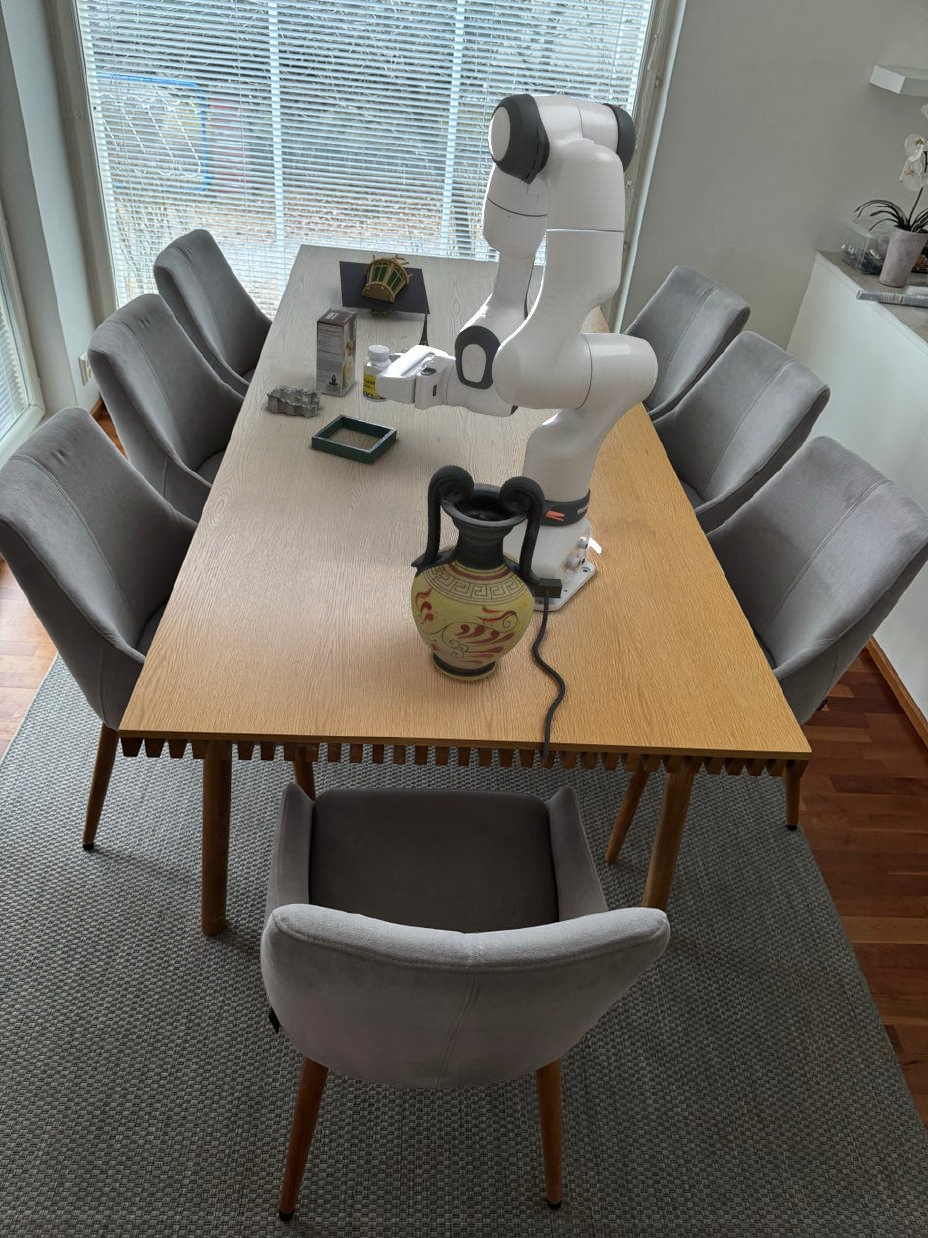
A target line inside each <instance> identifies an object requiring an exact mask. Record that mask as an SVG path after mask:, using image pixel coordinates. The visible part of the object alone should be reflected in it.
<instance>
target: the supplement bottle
mask: <svg viewBox="0 0 928 1238" xmlns="http://www.w3.org/2000/svg"><path fill="white" fill-rule="evenodd" d="M389 353H390V348H389V347H387V346H386V345H385V346H384V345H380V344H373V345H370V346H369V347H368V349H367V356H368V357H366V358H365V360H364V362H363V376H362V398H364V399H365V400H366V401H369V402H372V403H385V402H387V401H389V400H390V399H386V398H383V397H381V396H379V395H378V394H377V393H376V392H375V381H376V378H375V377H373V376H371V375H367V374H365V366H366V365H367V364H369V363H372V364H376V365H377V367H379V368H381V369H382V368H387V367H389V366H390V365H391V364H392V362H391V360H390V359H388V358H389Z"/></svg>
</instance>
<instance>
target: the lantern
mask: <svg viewBox="0 0 928 1238" xmlns="http://www.w3.org/2000/svg"><path fill="white" fill-rule="evenodd" d="M399 260H400V261H403V262H399ZM338 262H339V277H340V278H339V279H340V289H341V290H340V291H341V292H340V293H341V307H342V308H350V309H363V310H369V311H370V312H369V314H370V315H373V313H376V314H384V315H386V314H388V312H397V313H410V314H411V313H412V314H422V315H425V313H426V310H427V313H428V315H431V311H430V306H429V301H428V300H429V299H428V294H427V290H426V283H425V279H424V273H423V268H420V267H419V268H418V267H409V266H407V265H409V264H410V261H407V259H406V258H404V257H402V256H401V257H399V254H398V253H396V254H395V256H392V257H386V256H384V257H383V256H382V257H378V258H376V255H375V254H374V253H373V254H372V260H371V261H370V262H369V263H365V262H364V263H363V262H354V261H345V260H339V261H338Z"/></svg>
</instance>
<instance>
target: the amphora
mask: <svg viewBox="0 0 928 1238" xmlns="http://www.w3.org/2000/svg"><path fill="white" fill-rule="evenodd" d="M426 498H427V500H426V501H427V538H426V540H427V542H426V547H425V551H424V552H423V553H422V554H421V555H419V556H418V557H417V558H415V560H413V561H412V562H411V564H410V567H412V568H415V569H416V572H415V574H414V577H413V579H412V580H413V581H412V584H411V589H410V609H411V614H412V617H413V621H414V624H415V627H416V629H417V632H418V634H419V636H420V638H421V639H422V641H423V643H424V645H426V647H427V648H428V649H429V650H431V652H432V661H433V663H434V665H435V667H436V668H437V669H438V670H439V671H440V672H441V673H443V674H444V675H446V676H448V677H449V678H452V679H456V680H459V681H471V682H472V681H477V680H481V679H482V680H483V679H484V678H487V677H489V676H490V675H491V674H492V673H493V672H494V671H495V669H496V667H497V661H498V660H500V659H501V658H503V657H504V656H506V655H508V654H509V653H510V652H511V651H512V650H513V649H514V648H515V647H516V646H517V645H518V644H519V642H520V641H521V640H522V638H523V637H524V635H525V633H526V631H527V629H528V628H529V626H530V623H531V620H532V617H533V614H534V600H535V590H534V587H535V586H537V585H539V584H541V581H540V579H539V578H538V577H537V575H536V574H535V573H534V572H533V571H532V569H531V566H532V558H533V554H534V549H535V545H536V541H537V537H538V533H539V529H540V525H541V520H542V516H543V511H544V506H545V496H544V493H543V491H542V489H541V487H540V485H539V484H538V483H536V482H535V481H534V480H532V479H530V478H527V477H523V476H522V475H521V476H519V475H518V476H512V477H510V478H508V479H506V480H505V481H504V482H503V484H502V486H499V485H495V484H491V483H485V482H484V483H482V482H475V481H474V478H473V476H472V475H471V474H470V473H469V472H468V471H467V470H466V469H465V468H464V467H462V466H459V465H457V464H456V465H455V464H448V465H444V466H441V467H440V468H438V469H437V470H436V471H435V472H433V474H432V476H431V478H430V480H429V484H428V487H427V497H426ZM442 511H443V512H444V513H445V514H446V515H447V516H448V517H450V518H451V521H452V523H453V526H454V527H455V528H456V529H457V530H458V535H457V540H456V543H455V544H451V545H446V546H444V547H442V548H440V546H441V533H442ZM526 518H528V521H527V526H526V531H525V535H524V539H523V543H522V547H521V552H520V558H519V561H518V560H517V559H516V558H514V557H513V556H511V555H510V554H508V553H507V552H504V551H503V540H504V537H505V536H506V535H508V534H509V533H510V532H511V531H512V529H513V528H514V526H517V525H519V524H521V523H522V522H524V521H525V520H526Z"/></svg>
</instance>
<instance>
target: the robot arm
mask: <svg viewBox="0 0 928 1238" xmlns="http://www.w3.org/2000/svg"><path fill="white" fill-rule="evenodd" d="M487 133H488V135H487V145H488V152H489V155H490V158H491V160H492V161H493V166H492V169H491V172H490V175H489V179H488V183H487V187H486V192H485V196H484V201H483V205H482V206H483V207H482V214H481V216H482V217H481V233H482V236H483V238H484V240H485V241H486V242H487V244H488V245H489V246H490V247H491V248H492V249H493V250H494V251H496V252H498V260H497V267H496V271H495V277H494V282H493V287H492V291H491V294H490V295H489V297H488V298H487V299H486V300H485V301H484V302H483V304H482V305H481V306H480V308H479V309H478V311H477V312H476V314H474V316H473V317H471V318H470V320H469V321H468V322H466V324H465V325H464V327H462V329H461V330H460V331H459V332H458V333H457V336H456V338H455V341H454V356H451V355H450V356H449V355H448V353H447V352H444V351H442V350H439V349H436V348H433V347H430V346H429V347H426V345H425V346H422V345H421V346H418V345H415V346H414V347H412V348H410V349H411V350H410V351H409V352H407V353H406V354H404V353H402V352H401V353H399V352H398V353H390V352H389V358H388V359H390V360H391V362H392V364H391V365H390V366H389V367H387V368H382V369H381V368H379V367H377V365H376V364H372V363H369V364H367V365H366V366H365V374H367V375H371V376H373V377H375V378H376V381H375V392H376V393H377V394H378V395H379V396H381V397H383V398H386V399H389V400H390V401H394V402H397V403H401V404H406V405H413V404H414V406H413V407H414V408H415V409H417V410H421V411H424V410H427V409H429V408H433V407H439V406H443V405H444V406H448V407H453V408H454V407H456V408H457V407H461V408H464V409H466V410H468V411H470V412H472V413H475V414H480V415H485V416H491V417H499V418H506V417H507V418H508V417H511V416H512V415H514V413H516V411H517V410H518V409H519V407H520V408H525V409H529V410H559V411H558V412H557V413H556V414H555V415H554V416H552V417H551V418H549V419H547V420H546V421H545V422H542V423H541V424H539V425H538V426H536V428H534V430H533V431H532V432H531V433H530V436H529V437H528V439H527V442H526V447H525V453H524V459H523V460H524V461H523V464H522V471H521V476H523V477H527V478H530V479H532V480H534V481H535V482H536V483H538V484H539V485H540V487H541V489H542V491H543V493H544V496H545V506H544V511H543V516H542V520H541V525H540V529H539V533H538V537H537V541H536V545H535V549H534V554H533V558H532V566H531V569H532V571H533V572H534V573H535V574H536V575H537V577H538V578H539V579H540V581H541V584H539V585H537V586H535V587H534V590H535V600H534V609H533V611H534V610H536V611H542V612H543V614H542V620H541V625H540V631H539V633H538V636H537V638H536V639H535V641H534V643H533V646H532V647H533V648H532V654H533V657H534V659H535V661H536V662H537V663H538V664H539V665H540V666H541V668H543V669H544V670H545V671H546V672H548V673H549V674H550V675H551V676H553V677H554V679H555V680H556V681H557V683H558V685H559V693H558V695H557V697H556V698H555V700H554V701H553V702H552V704H551V705H550V707H549V709H548V711H547V714H546V718H545V724H544V737H543V738H544V739H543V747H542V754H541V757H542V758H543V759H544V760H545V759H548V758H549V752H550V751H549V750H550V742H551V727H552V726H551V725H552V721H553V715H554V713H555V711H556V709H557V708H558V706H559V705H560V704H561V702H562V701H563V699H564V698H565V694H566V684H565V681H564V679H563V677H562V676H561V675H560V673H558V672H557V671H556V670H555V669H553V668H552V667H551V666H550V665H548V664H547V663H546V662H545V661H544V660H543V659H542V657H541V656H540V653H539V646H540V644H541V643H542V640H543V639H544V636H545V633H546V628H547V624H548V618H549V612H556V611H559V610H560V609H561V608H562V607H563V606H564V605H565V604H566V603H567V602H568V601H569V600H571V598H572V597H573V596H574V595H575V594H577V592H579V590H580V589H581V588H582V587H584V585H585V584H586V583H587V582H588V581H589V580H590V579H591V578H592V577H593V576H594V575H595V573H596V567H595V565H594V564H593V563H592V562H590V561H589V560H588V557H589V551H590V547H592V548H593V549H594V550H595V551H596V552H597V553H598V554H601V551H602V547H601V546H600V545H599V544H598V543H597V542H596V541H595V540H594V539H593V538H592V534H593V526H592V523H591V522H590V521H589V518H588V517H587V513H588V508H589V506H590V501H591V488H590V486H591V485H590V484H591V480H592V476H593V472H594V469H595V465H596V461H597V458H598V455H599V452H600V449H601V447H602V445H603V443H604V441H605V440H606V438H607V436H608V435H609V433H610V432H611V430H612V429H613V428H614V427H615V425H616V424H617V423H618V422H619V421H620V420H621V418H622V417H623V416H624V415H625V414H626V413H628V412H629V411H630V410H631V409H633V408H634V407H635V406H637V405H638V404H641V402H643V401H645V400H646V399H647V398H648V397H649V396H650V394H651V393H652V391H653V390H654V388H655V385H656V382H657V379H658V373H659V364H658V359H657V356H656V355H657V354H656V353H655V351H654V349H653V347H652V345H651V344H650V343H649V342H648V341H647V340H646V339H644V338H640V337H636V336H633V335H628V334H623V333H618V332H593V333H592V332H582V328H583V325H584V323H585V320H587V317H588V315H589V314H591V312H592V311H593V310H594V309H595V308H598V307H599V306H601V305H603V304H605V303H606V302H608V301H609V300H610V299H611V298H613V296H614V295H615V294H616V293H617V291H618V289H619V287H620V284H621V278H622V277H621V276H622V263H623V253H624V252H623V250H624V241H625V240H624V239H625V233H624V232H625V226H626V225H625V224H626V188H625V175H624V174H625V172H626V171H627V170H628V168H629V166H630V164H631V163H632V161H633V158H634V154H635V151H636V143H637V135H636V128H635V124H634V120H633V118H632V116H631V115H630V112H628V111H627V110H625V109H624V108H622V107H620V106H617V105H615V104H612V103H608V102H603V103H599V102H594V101H591V100H588V99H587V100H586V99H582V98H574V97H572V96H569V95H561V94H539V95H538V94H536V95H535V94H534V95H531V94H530V93H527V92H526V93H518V94H517V93H516V94H512V95H509V96H505V97H503V98H502V99H501V100H500V101H499V102H498V104H497V105H496V107H495V108H494V110H493V112H492V115H491V117H490V120H489V125H488V132H487ZM544 238H545V248H544V259H543V269H542V277H541V283H540V288H539V292H538V294H537V297H536V299H535V303H534V305H533V307H532V309H531V311H530V313H529V310H528V295H529V290H530V284H531V279H532V277H533V271H534V267H535V263H536V262H535V261H536V258H537V254H538V251H539V249H540V247H541V245H542V243H543V240H544ZM527 521H528V518H526V520H525V521H524V522H522V523H521V524H519V525H517V526H514V528H513V529H512V531H511V532H510V533H509V534H508V535H506V536H505V537H504V540H503V551H504V552H507V553H508V554H510V555H511V556H513V557H514V558H516V559H517V560H518V561H519V558H520V552H521V547H522V543H523V539H524V535H525V531H526V526H527ZM518 907H519V903H517V902H514V901H513V902H512V907H511V910H510V915H511V914H512V915H515V916H516V914H517V909H518Z"/></svg>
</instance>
